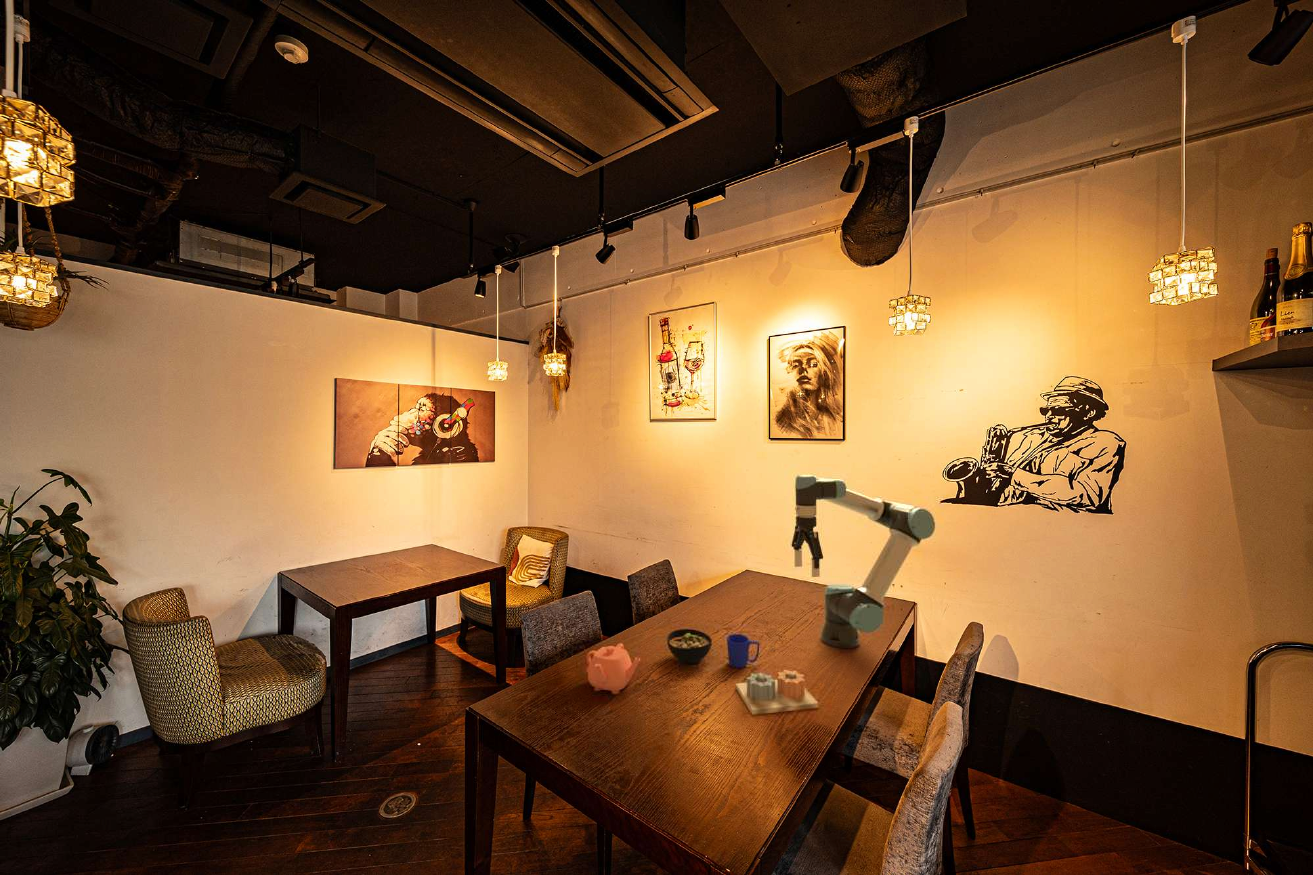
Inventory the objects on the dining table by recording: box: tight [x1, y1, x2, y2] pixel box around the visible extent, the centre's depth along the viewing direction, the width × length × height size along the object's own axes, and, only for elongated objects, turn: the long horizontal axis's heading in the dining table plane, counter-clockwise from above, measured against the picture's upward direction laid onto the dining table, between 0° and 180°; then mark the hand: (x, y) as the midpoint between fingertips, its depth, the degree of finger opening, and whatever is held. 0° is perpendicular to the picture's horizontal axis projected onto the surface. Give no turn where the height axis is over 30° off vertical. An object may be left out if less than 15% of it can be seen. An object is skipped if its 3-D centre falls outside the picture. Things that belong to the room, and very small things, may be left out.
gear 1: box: [746, 672, 776, 702], centre depth 160 cm, size 9×9×5 cm
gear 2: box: [776, 669, 806, 699], centre depth 162 cm, size 9×9×5 cm
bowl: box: [666, 628, 713, 667], centre depth 187 cm, size 17×17×10 cm
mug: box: [726, 633, 760, 669], centre depth 183 cm, size 8×12×10 cm
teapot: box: [586, 642, 641, 695], centre depth 168 cm, size 16×17×14 cm
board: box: [735, 673, 819, 716], centre depth 161 cm, size 22×16×7 cm
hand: (806, 571), depth 185 cm, fingers open, 13 cm apart
